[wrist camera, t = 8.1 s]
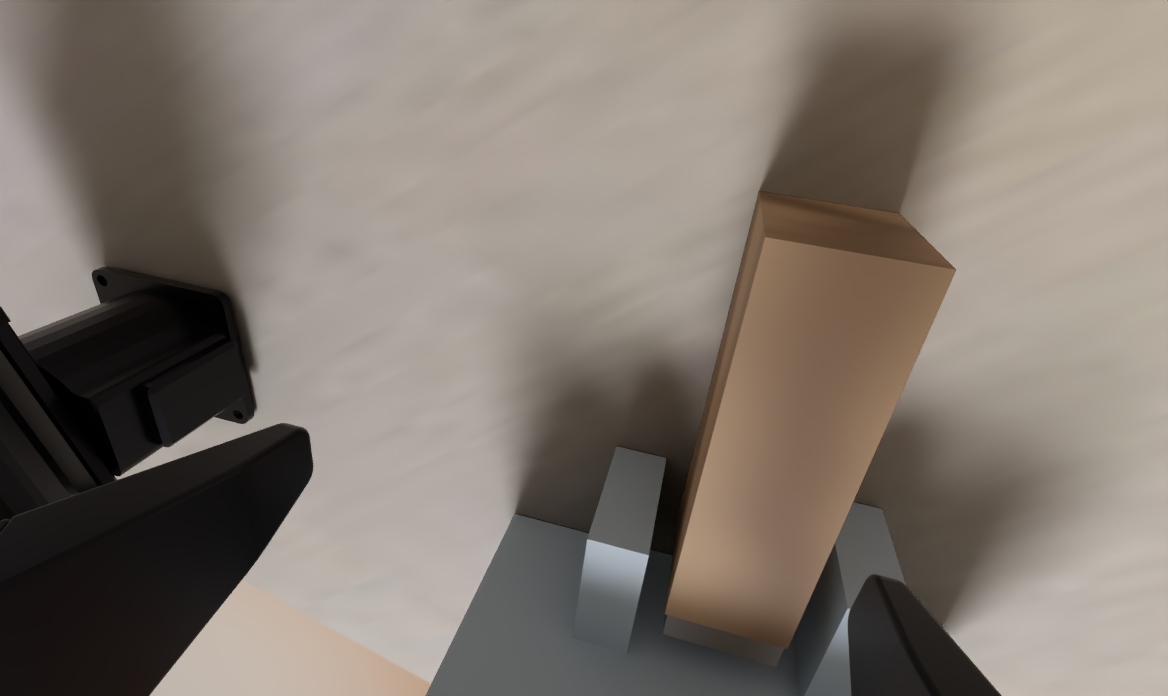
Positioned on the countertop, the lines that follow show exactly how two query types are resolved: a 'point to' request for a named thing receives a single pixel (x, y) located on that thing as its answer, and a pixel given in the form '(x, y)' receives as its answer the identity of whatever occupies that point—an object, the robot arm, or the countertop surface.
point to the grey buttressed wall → (638, 610)
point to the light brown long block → (795, 413)
